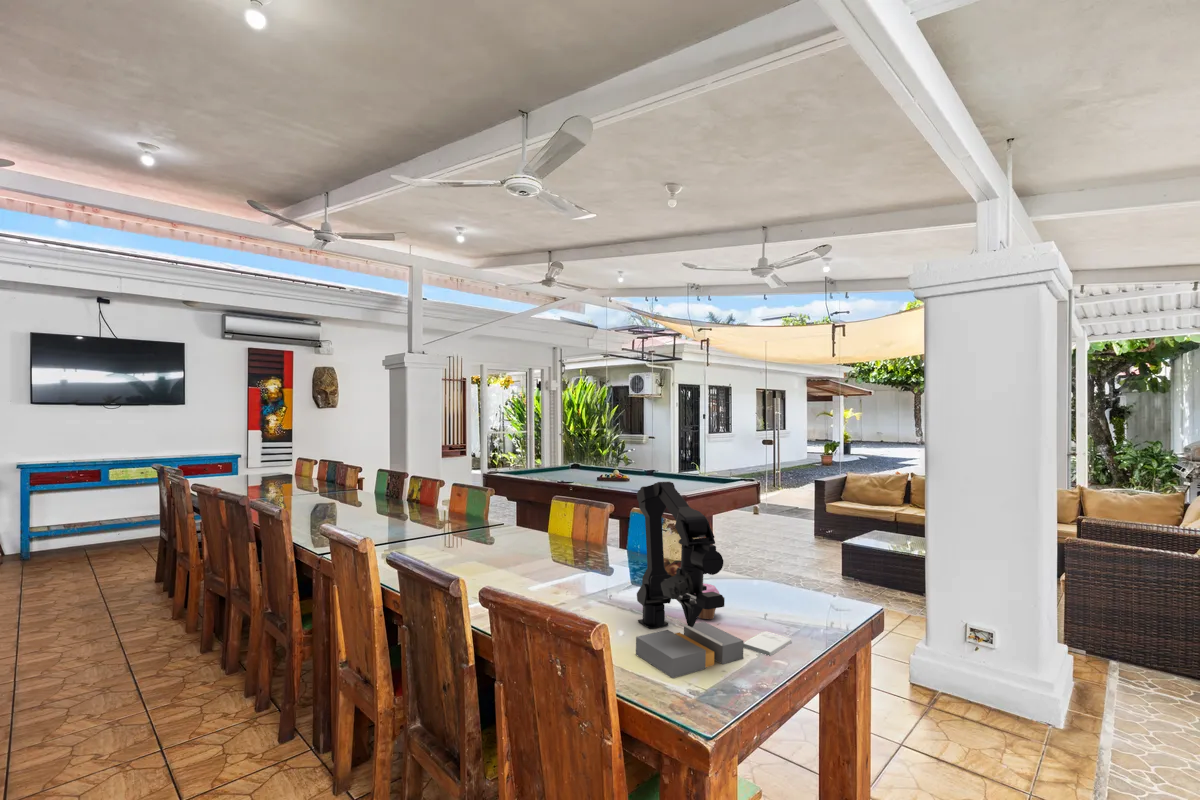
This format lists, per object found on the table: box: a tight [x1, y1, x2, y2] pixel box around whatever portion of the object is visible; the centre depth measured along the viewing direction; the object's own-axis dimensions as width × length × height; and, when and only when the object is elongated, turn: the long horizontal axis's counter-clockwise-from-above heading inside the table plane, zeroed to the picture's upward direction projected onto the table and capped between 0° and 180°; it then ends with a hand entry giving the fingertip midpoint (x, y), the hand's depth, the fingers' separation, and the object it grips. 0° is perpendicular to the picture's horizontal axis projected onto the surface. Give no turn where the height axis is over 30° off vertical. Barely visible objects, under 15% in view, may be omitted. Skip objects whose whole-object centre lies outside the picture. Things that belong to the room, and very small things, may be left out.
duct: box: [635, 621, 745, 679], centre depth 155 cm, size 15×22×4 cm, turn 121°
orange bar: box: [674, 632, 715, 668], centre depth 156 cm, size 14×4×4 cm
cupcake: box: [698, 582, 720, 620], centre depth 183 cm, size 9×9×10 cm
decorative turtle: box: [664, 558, 681, 577], centre depth 218 cm, size 10×15×8 cm, turn 72°
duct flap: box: [666, 614, 723, 646], centre depth 156 cm, size 15×6×1 cm, turn 31°
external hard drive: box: [743, 630, 793, 657], centre depth 164 cm, size 2×8×12 cm
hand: (690, 626), depth 155 cm, fingers closed, pressing on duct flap
